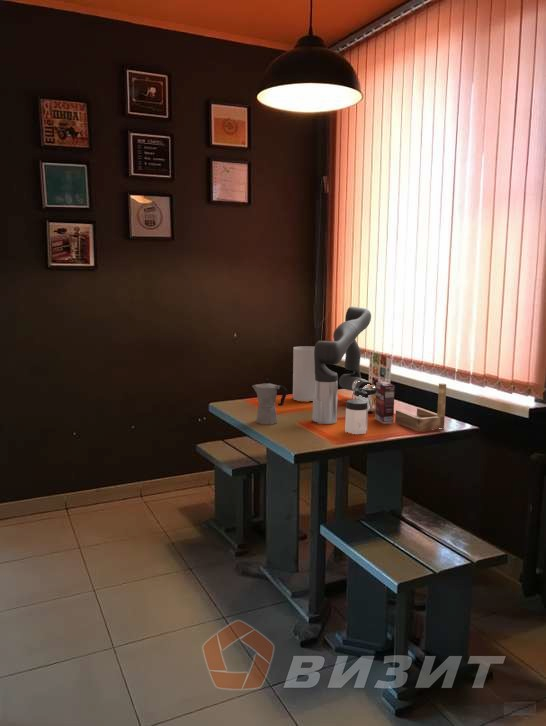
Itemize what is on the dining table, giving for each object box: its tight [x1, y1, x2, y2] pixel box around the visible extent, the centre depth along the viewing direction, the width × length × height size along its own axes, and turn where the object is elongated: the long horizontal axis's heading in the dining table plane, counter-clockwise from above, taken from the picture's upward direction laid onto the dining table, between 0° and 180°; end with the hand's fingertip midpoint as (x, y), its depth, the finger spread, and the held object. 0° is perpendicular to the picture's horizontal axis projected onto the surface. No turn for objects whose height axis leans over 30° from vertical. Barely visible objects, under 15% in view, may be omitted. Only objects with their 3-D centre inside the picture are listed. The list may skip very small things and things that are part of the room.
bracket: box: [394, 382, 447, 432], centre depth 241 cm, size 12×16×18 cm
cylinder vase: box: [292, 345, 315, 402], centre depth 286 cm, size 12×12×25 cm
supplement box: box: [374, 381, 396, 425], centre depth 248 cm, size 9×5×16 cm, turn 14°
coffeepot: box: [251, 378, 288, 425], centre depth 245 cm, size 15×9×18 cm, turn 67°
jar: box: [344, 398, 369, 435], centre depth 232 cm, size 9×8×12 cm
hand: (376, 395), depth 257 cm, fingers open, 8 cm apart
